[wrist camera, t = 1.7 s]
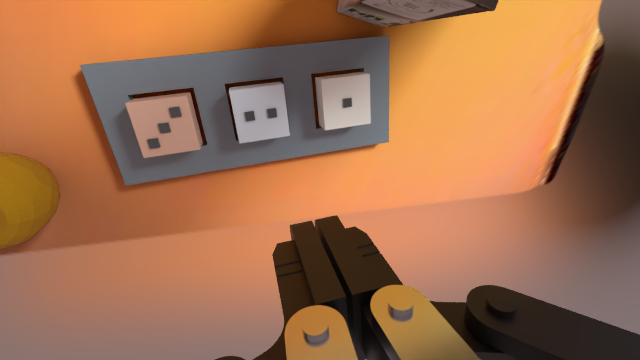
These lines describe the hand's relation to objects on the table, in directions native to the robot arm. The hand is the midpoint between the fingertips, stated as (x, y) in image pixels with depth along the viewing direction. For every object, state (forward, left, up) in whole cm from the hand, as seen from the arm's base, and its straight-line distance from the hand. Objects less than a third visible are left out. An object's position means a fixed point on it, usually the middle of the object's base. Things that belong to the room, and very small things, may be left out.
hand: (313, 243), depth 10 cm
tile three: (+9, 0, -25) cm, 27 cm away
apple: (+24, +4, -27) cm, 36 cm away
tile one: (-9, 0, -25) cm, 27 cm away
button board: (0, 0, -27) cm, 27 cm away
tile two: (0, 0, -25) cm, 25 cm away
